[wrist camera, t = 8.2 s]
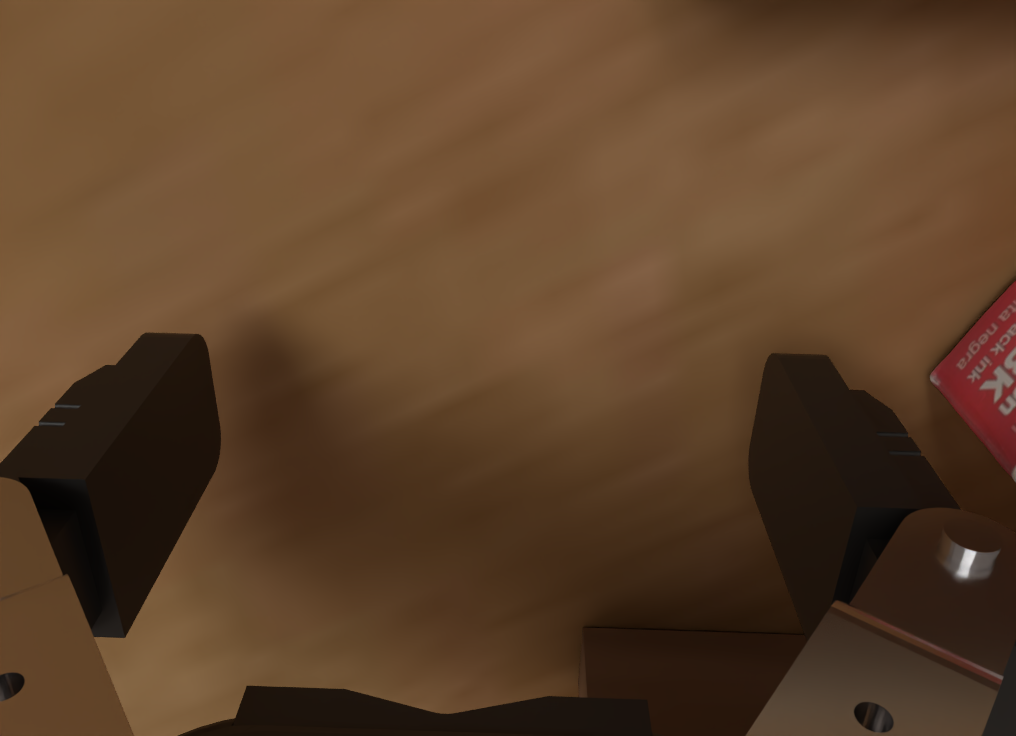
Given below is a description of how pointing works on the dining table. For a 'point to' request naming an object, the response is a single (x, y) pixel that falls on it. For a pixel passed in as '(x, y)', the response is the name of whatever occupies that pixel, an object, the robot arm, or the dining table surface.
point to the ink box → (986, 379)
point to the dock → (688, 675)
